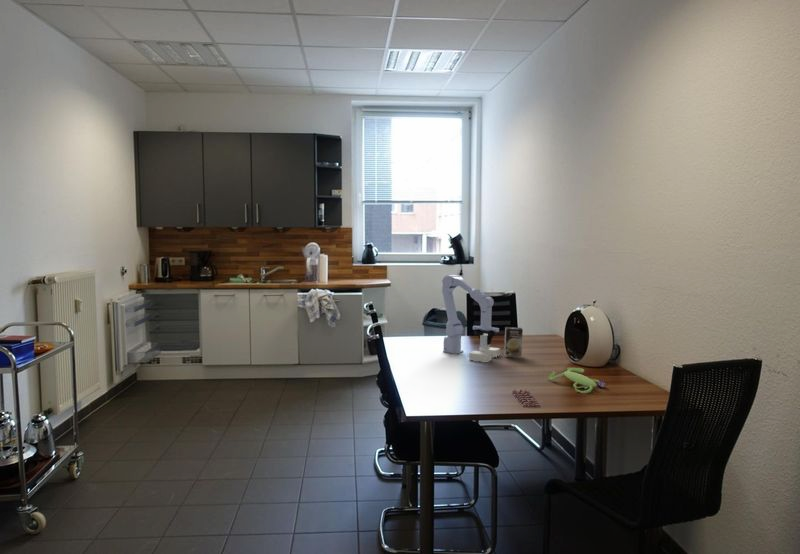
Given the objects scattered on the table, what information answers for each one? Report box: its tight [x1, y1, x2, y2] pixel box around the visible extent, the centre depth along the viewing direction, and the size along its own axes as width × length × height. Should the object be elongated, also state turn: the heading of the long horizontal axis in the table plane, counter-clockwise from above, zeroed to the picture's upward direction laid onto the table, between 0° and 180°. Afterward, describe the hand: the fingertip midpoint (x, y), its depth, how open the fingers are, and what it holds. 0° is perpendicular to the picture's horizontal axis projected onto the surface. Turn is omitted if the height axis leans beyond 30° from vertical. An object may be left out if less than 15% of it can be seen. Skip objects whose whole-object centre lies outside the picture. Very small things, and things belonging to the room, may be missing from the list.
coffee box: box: [503, 326, 524, 359], centre depth 305 cm, size 9×6×16 cm
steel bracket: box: [479, 333, 491, 350], centre depth 301 cm, size 4×5×8 cm
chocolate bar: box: [512, 389, 541, 407], centre depth 229 cm, size 7×19×2 cm, turn 1°
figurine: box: [546, 367, 606, 394], centre depth 253 cm, size 18×27×6 cm
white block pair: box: [469, 346, 501, 363], centre depth 302 cm, size 10×20×4 cm, turn 150°
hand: (485, 343), depth 302 cm, fingers closed on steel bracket, 4 cm apart
